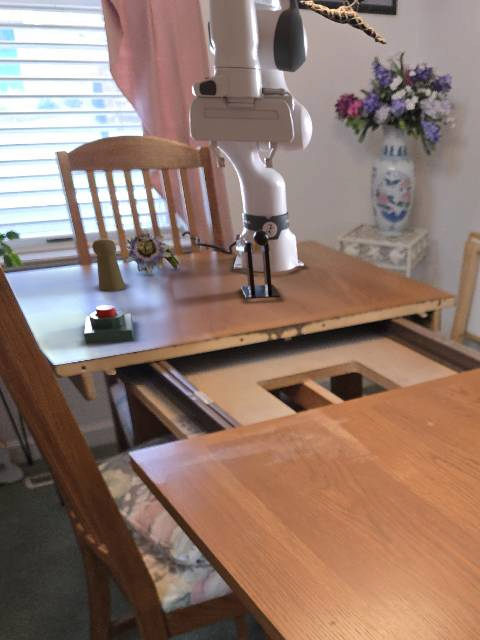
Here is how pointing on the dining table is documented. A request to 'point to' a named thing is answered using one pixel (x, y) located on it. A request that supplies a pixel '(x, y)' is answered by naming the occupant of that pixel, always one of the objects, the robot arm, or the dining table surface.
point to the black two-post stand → (251, 289)
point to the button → (105, 311)
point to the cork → (107, 265)
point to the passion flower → (149, 252)
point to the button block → (108, 328)
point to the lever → (259, 242)
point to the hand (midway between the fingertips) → (245, 167)
